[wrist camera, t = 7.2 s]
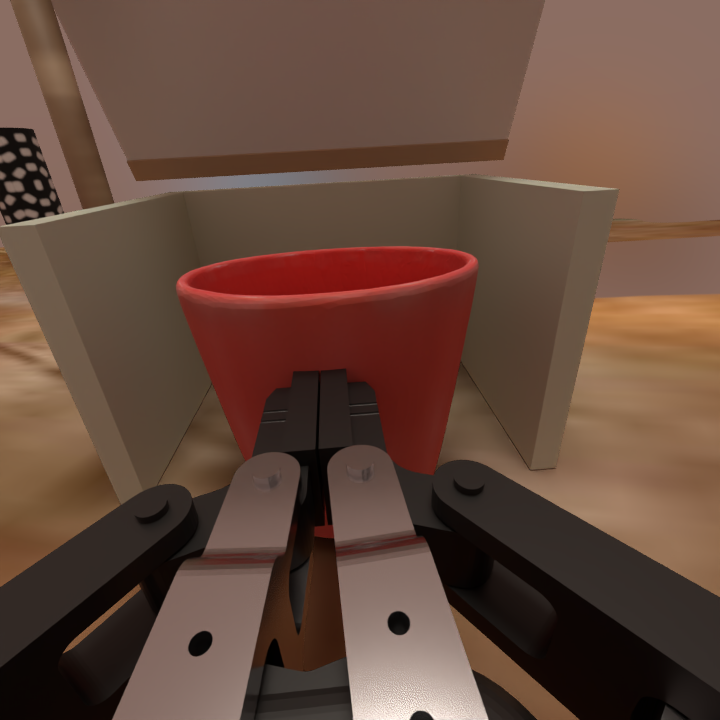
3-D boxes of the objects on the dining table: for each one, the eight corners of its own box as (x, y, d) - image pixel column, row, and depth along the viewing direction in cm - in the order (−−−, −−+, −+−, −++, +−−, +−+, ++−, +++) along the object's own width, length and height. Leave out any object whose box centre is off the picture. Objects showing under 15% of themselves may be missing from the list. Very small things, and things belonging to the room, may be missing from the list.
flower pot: (165, 518, 16) (96, 280, 13) (315, 402, 25) (300, 243, 21) (409, 636, 11) (409, 305, 8) (487, 441, 20) (505, 244, 17)
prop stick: (180, 400, 26) (18, -127, 15) (172, 412, 24) (-10, -153, 14) (158, 401, 25) (-20, -126, 15) (149, 414, 24) (-52, -152, 14)
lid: (503, 159, 25) (498, 152, 26) (626, -295, 13) (612, -289, 14) (136, 181, 24) (140, 172, 25) (-89, -280, 12) (-71, -275, 13)
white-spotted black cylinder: (90, 256, 72) (45, 129, 63) (43, 267, 65) (-16, 126, 56) (61, 254, 75) (13, 133, 66) (12, 265, 68) (-48, 131, 59)
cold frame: (461, 338, 32) (473, 174, 26) (555, 467, 18) (619, 189, 13) (211, 356, 31) (170, 192, 26) (120, 504, 18) (-5, 227, 12)
